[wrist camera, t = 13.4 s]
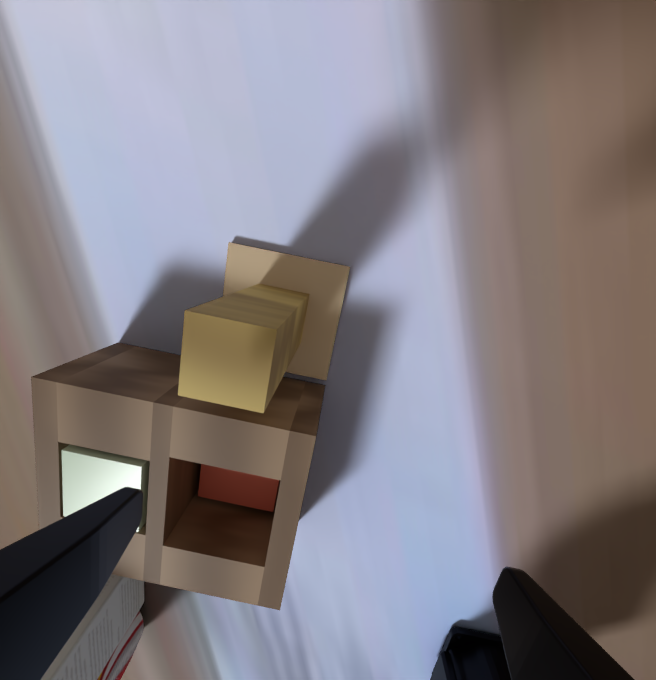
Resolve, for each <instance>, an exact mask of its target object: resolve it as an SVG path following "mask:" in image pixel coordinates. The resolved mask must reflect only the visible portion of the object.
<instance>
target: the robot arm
mask: <svg viewBox="0 0 656 680" xmlns="http://www.w3.org/2000/svg"><path fill="white" fill-rule="evenodd" d="M142 510H143V491H142V490H140V489H136V488H131V487H124V488H121V489H119V490H117V491H115V492H113V493H111V494H109V495H107V496H106V497H104V498H102V499H100V500H98V501H96V502H94V503H92V504H90V505H88V506H86V507H84V508H82V509H80V510H78V511H76V512H74V513H72V514H70V515H68V516H66V517H64V518H62V519H60V520H58V521H56V522H54V523H52V524H50V525H48V526H46V527H44V528H42V529H40V530H38V531H36V532H34V533H32V534H30V535H28V536H26V537H24V538H22V539H20V540H18V541H17V542H15V543H13V544H11V545H9V546H7V547H5V548H3V549H1V550H0V680H41V678H42V677H43V675H44V674H45V673H46V671H47V670H48V668H49V667H50V665H51V664H52V663H53V661H54V660H55V658H56V657H57V655H58V654H59V652H60V651H61V650H62V648H63V647H64V645H65V644H66V642H67V641H68V640H69V638H70V637H71V635H72V634H73V632H74V631H75V629H76V628H77V627H78V625H79V624H80V622H81V621H82V619H83V618H84V617H85V615H86V614H87V612H88V611H89V609H90V608H91V606H92V605H93V603H94V602H95V600H96V599H97V597H98V596H99V594H100V593H101V591H102V589H103V588H104V586H105V584H106V583H107V581H108V579H109V577H110V576H111V574H112V572H113V570H114V569H115V567H116V565H117V564H118V562H119V560H120V558H121V557H122V555H123V553H124V551H125V550H126V548H127V546H128V544H129V543H130V541H131V539H132V537H133V536H134V534H135V532H136V531H137V529H138V527H139V525H140V522H141V519H142ZM493 604H494V608H495V613H496V617H497V621H498V625H499V630H500V634H501V636H496V635H492V634H487V633H482V632H477V631H473V630H468V629H463V628H459V627H455V628H452V629H451V630H450V632H449V635H448V637H447V640H446V642H445V645H444V647H443V649H442V652H441V653H440V655H439V657H438V660H437V662H436V665H435V667H434V670H433V672H432V676H431V679H430V680H634V679H633V678H632V677H631V676H630V675H629V674H628V673H627V672H626V671H625V670H624V669H623V668H622V667H621V666H620V665H619V664H618V663H617V662H616V661H615V660H614V659H613V658H612V657H611V656H610V655H609V654H608V653H607V652H606V651H605V650H604V649H603V648H602V647H601V646H600V645H599V644H598V643H597V642H596V641H595V640H594V639H593V638H592V637H591V636H590V635H589V634H588V633H587V632H586V631H585V630H584V629H583V628H581V627H580V626H579V625H578V624H577V623H576V622H575V621H574V620H573V619H572V618H571V617H570V616H569V615H568V614H567V613H566V612H565V611H564V610H563V609H562V608H561V607H560V606H559V605H558V604H557V603H556V602H555V601H554V600H553V599H552V598H551V597H550V596H549V595H548V594H547V593H546V592H545V591H544V590H543V589H542V588H541V587H540V586H539V585H538V584H537V583H536V582H535V581H534V580H533V579H532V578H531V577H530V576H529V575H528V574H527V573H525V572H524V571H523V570H520V569H516V568H511V567H505V568H504V569H503V570H502V572H501V574H500V576H499V579H498V581H497V583H496V585H495V588H494V590H493Z"/></svg>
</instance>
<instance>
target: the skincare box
mask: <svg viewBox="0 0 656 680" xmlns="http://www.w3.org/2000/svg"><path fill="white" fill-rule="evenodd" d="M143 603H144V581H141V580H136V579H131V578H127V577H122V576H117V575H112V574H111V576H110V577H109V579H108V581H107V583H106V584H105V586H104V588H103V589H102V591H101V593H100V594H99V596H98V597H97V599H96V600H95V602H94V603H93V605H92V606H91V608H90V609H89V611H88V612H87V614H86V615H85V617H84V618H83V619H82V621H81V622H80V624H79V625H78V627H77V628H76V629H75V631H74V632H73V634H72V635H71V637H70V638H69V640H68V641H67V642H66V644H65V645H64V647H63V648H62V650H61V651H60V652H59V654H58V655H57V657H56V658H55V660H54V661H53V663H52V664H51V665H50V667H49V668H48V670H47V671H46V673H45V674H44V675H43V677H42V678H41V680H97V679H98V677H99V676H100V674H101V672H102V671H103V669H104V667H105V666H106V664H107V662H108V661H109V659H110V657H111V656H112V654H113V652H114V651H115V649H116V647H117V646H118V644H119V643H120V641H121V639H122V638H123V636H124V634H125V633H126V631H127V630H128V628H129V626H130V625H131V623H132V622H133V620H134V618H135V617H136V615H137V613H138V612H139V610H140V608H141V607H142V605H143Z"/></svg>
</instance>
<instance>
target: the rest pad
mask: <svg viewBox="0 0 656 680" xmlns="http://www.w3.org/2000/svg"><path fill="white" fill-rule="evenodd" d="M349 270H350V267H349V266H344V265H339V264H334V263H329V262H324V261H319V260H314V259H309V258H304V257H300V256H295V255H290V254H285V253H280V252H275V251H270V250H265V249H260V248H255V247H250V246H245V245H241V244H236V243H230V242H229V244H228V253H227V262H226V271H225V280H224V290H223V296H226V295H229V294H231V293H234V292H237V291H240V290H243V289H245V288H248V287H251V286H254V285H256V284H264V285H269V286H273V287H278V288H283V289H288V290H293V291H297V292H302V293H307V294H310V295H309V301H308V306H307V311H306V317H305V322H304V328H303V333H302V339H301V343H300V345H299V347H298V349H297V351H296V353H295V355H294V357H293V358H292V360H291V362H290V364H289V366H288V368H287V370H286V372H288V373H293V374H297V375H302V376H307V377H312V378H317V379H322V380H327V375H328V371H329V366H330V361H331V356H332V351H333V347H334V342H335V337H336V332H337V327H338V323H339V318H340V313H341V308H342V304H343V299H344V294H345V289H346V284H347V280H348V275H349Z"/></svg>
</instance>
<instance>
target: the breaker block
mask: <svg viewBox="0 0 656 680" xmlns="http://www.w3.org/2000/svg"><path fill="white" fill-rule="evenodd" d="M180 362H181V355H176V354H171V353H167V352H162V351H157V350H152V349H147V348H142V347H138V346H133V345H128V344H123V343H116V344H113V345H111V346H108V347H106V348H103V349H101V350H98V351H96V352H93V353H91V354H88V355H85V356H83V357H80V358H78V359H75V360H73V361H70V362H68V363H65V364H63V365H60V366H58V367H55V368H53V369H50V370H48V371H45V372H43V373H40V374H38V375H35V376H32V377H31V383H32V403H33V422H34V441H35V460H36V480H37V499H38V518H39V530H40V529H42V528H44V527H46V526H48V525H50V524H52V523H54V522H56V521H58V520H60V519H62V518H64V517H65V516H63V486H62V450H63V449H64V448H65V447H67V446H68V445H70V444H71V445H76V446H80V447H85V448H90V449H95V450H100V451H104V452H109V453H114V454H119V455H123V456H128V457H133V458H138V459H143V460H147V461H150V467H149V485H148V502H147V520H146V523H145V524H144V525H143V527H142V528H141V529H140V531H139V532H135V534H134V536H133V537H132V539H131V541H130V543H129V544H128V546H127V548H126V550H125V551H124V553H123V555H122V557H121V558H120V560H119V562H118V564H117V565H116V567H115V569H114V570H113V572H112V575H117V576H122V577H127V578H131V579H136V580H141V581H145V582H150V583H155V584H159V585H164V586H169V587H174V588H178V589H183V590H188V591H192V592H197V593H202V594H207V595H211V596H216V597H221V598H225V599H230V600H235V601H239V602H244V603H249V604H254V605H258V606H263V607H268V608H272V609H277V610H280V607H281V602H282V597H283V592H284V588H285V583H286V578H287V573H288V569H289V564H290V559H291V554H292V550H293V545H294V540H295V535H296V531H297V526H298V521H299V516H300V512H301V507H302V502H303V497H304V493H305V488H306V483H307V478H308V474H309V469H310V464H311V459H312V454H313V450H314V445H315V440H316V435H317V430H318V424H319V418H320V413H321V407H322V401H323V396H324V390H325V385H322V384H317V383H312V382H307V381H302V380H297V379H292V378H288V377H282V379H281V381H280V383H279V385H278V387H277V389H276V391H275V393H274V395H273V396H272V398H271V400H270V402H269V404H268V406H267V408H266V410H265V412H264V413H259V412H254V411H250V410H245V409H240V408H235V407H231V406H226V405H221V404H216V403H212V402H207V401H202V400H197V399H193V398H188V397H183V396H178V386H179V374H180ZM201 464H204V465H209V466H214V467H219V468H224V469H228V470H233V471H238V472H243V473H247V474H252V475H257V476H262V477H267V478H271V479H276V480H281V481H280V486H279V492H278V497H277V500H276V504H275V507H274V511H273V512H270V511H266V510H261V509H256V508H251V507H246V506H242V505H237V504H232V503H227V502H223V501H218V500H213V499H208V498H204V497H199V496H198V489H199V480H200V471H201Z"/></svg>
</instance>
